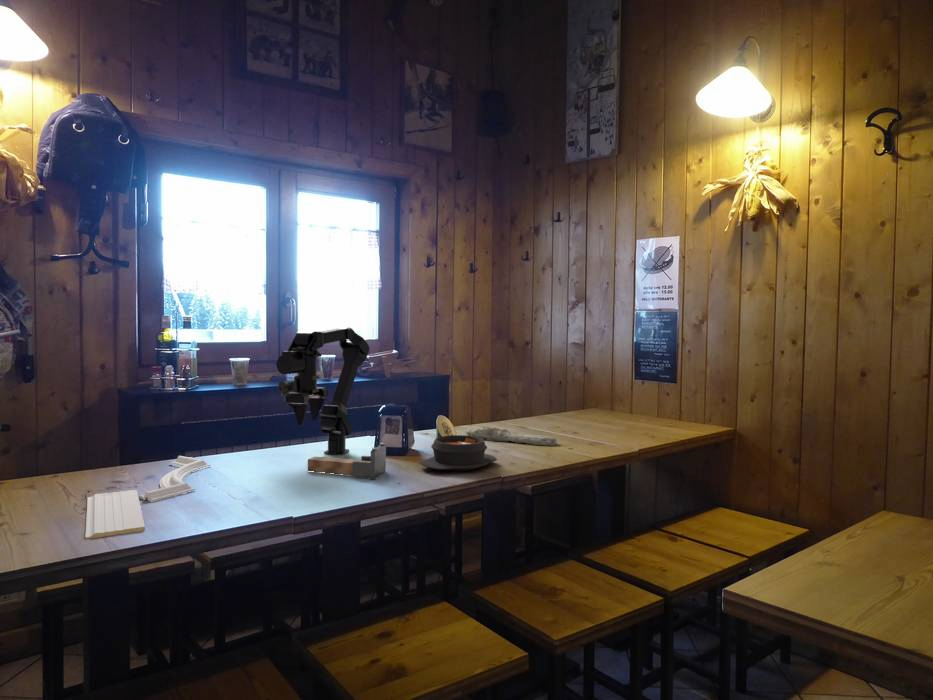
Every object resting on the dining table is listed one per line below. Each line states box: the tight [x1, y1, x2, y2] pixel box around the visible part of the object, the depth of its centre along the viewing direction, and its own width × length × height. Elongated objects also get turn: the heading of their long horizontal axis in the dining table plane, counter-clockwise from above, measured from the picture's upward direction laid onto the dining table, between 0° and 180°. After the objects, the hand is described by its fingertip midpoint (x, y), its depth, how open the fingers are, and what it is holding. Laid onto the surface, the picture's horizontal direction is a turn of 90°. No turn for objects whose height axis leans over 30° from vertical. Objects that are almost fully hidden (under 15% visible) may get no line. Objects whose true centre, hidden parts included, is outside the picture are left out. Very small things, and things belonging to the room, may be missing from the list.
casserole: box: [419, 434, 498, 472], centre depth 189 cm, size 25×19×8 cm
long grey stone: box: [465, 426, 557, 447], centre depth 231 cm, size 35×5×10 cm
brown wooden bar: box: [307, 456, 371, 477], centre depth 179 cm, size 18×4×4 cm, turn 74°
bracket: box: [352, 442, 387, 481], centre depth 178 cm, size 10×7×9 cm
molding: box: [138, 455, 211, 503], centre depth 170 cm, size 42×12×3 cm, turn 14°
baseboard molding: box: [81, 485, 146, 540], centre depth 140 cm, size 31×3×12 cm
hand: (307, 422), depth 192 cm, fingers open, 9 cm apart
